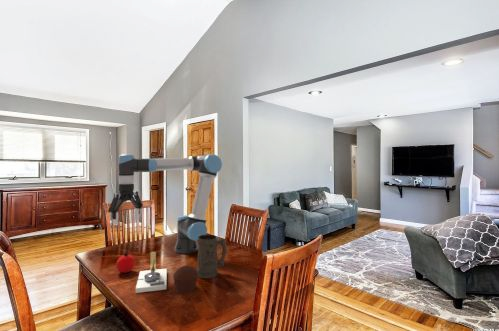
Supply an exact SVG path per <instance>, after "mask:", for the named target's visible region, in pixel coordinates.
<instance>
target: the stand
mask: <svg viewBox="0 0 499 331" xmlns="http://www.w3.org/2000/svg"><path fill="white" fill-rule="evenodd" d="M155 272H158V273H160V279H158V280H156V281H152V282H147V281H145V280H144V276H145V275H146V274H148V273H151V271H150V269H149V270H140V271H139V274H138V278H137V282H136V285H135V294H138V293H146V292H154V291H155V292H157V291H163V290H167V280H168V279H167V268H158V269H157V268H156V271H155Z"/></svg>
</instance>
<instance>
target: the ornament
mask: <svg viewBox="0 0 499 331" xmlns="http://www.w3.org/2000/svg"><path fill="white" fill-rule="evenodd" d="M135 265H136V259H135V257H134V256H133V255H131V254H129V252H124V253H123V255H121V256H120V257H119V258H118V259H117V261H116V269H117V270H118V271H119V272H120V273H124V274H125V273H126V274H127V273H130V272H131V271H132V270H134V267H135Z"/></svg>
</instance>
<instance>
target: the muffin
mask: <svg viewBox="0 0 499 331" xmlns="http://www.w3.org/2000/svg"><path fill="white" fill-rule="evenodd" d="M172 276H173V282H174V287H175V291H176V292H177V293H178V294H183V295H184V294H191V293H192V292H194V291H195V289H197V283H198V282H197V281H198V278H199V277H198V272H197V268H194V267H193V266H191V265H183V266H179V268H178V269H176V271H175V272H174V273H173V275H172Z"/></svg>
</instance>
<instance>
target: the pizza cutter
mask: <svg viewBox="0 0 499 331" xmlns="http://www.w3.org/2000/svg"><path fill="white" fill-rule="evenodd" d="M149 260H150V261H149V262H150V265H149V266H150V269H149V270H150V271H151V273H148V274H146V275H145V276H144V280H145V281H147V282H152V281H156V280H158V279H160V273H158V272H155V271H156V269H157V252H156V251H152V252H150V259H149Z"/></svg>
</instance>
